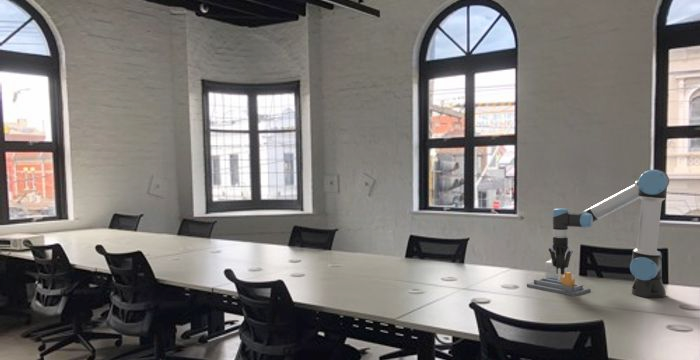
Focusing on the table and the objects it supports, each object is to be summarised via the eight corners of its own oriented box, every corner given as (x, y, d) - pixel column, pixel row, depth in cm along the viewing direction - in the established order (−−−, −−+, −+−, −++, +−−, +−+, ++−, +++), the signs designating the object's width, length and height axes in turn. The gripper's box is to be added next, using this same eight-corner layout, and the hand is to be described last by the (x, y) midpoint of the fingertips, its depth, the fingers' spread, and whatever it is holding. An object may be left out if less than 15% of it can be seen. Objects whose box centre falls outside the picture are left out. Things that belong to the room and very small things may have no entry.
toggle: (574, 287, 265) (574, 273, 265) (570, 289, 262) (570, 274, 262) (565, 286, 269) (565, 271, 269) (561, 287, 266) (561, 272, 266)
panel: (590, 291, 264) (590, 284, 264) (574, 296, 254) (574, 289, 254) (543, 282, 286) (543, 276, 286) (526, 286, 277) (526, 280, 277)
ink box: (560, 283, 282) (560, 260, 282) (545, 282, 287) (544, 259, 287) (564, 281, 289) (564, 258, 289) (549, 279, 294) (549, 256, 294)
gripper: (575, 237, 265) (575, 281, 266) (553, 235, 276) (553, 277, 276) (567, 238, 261) (568, 283, 262) (545, 236, 271) (545, 278, 272)
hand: (560, 279), depth 269 cm, fingers closed
